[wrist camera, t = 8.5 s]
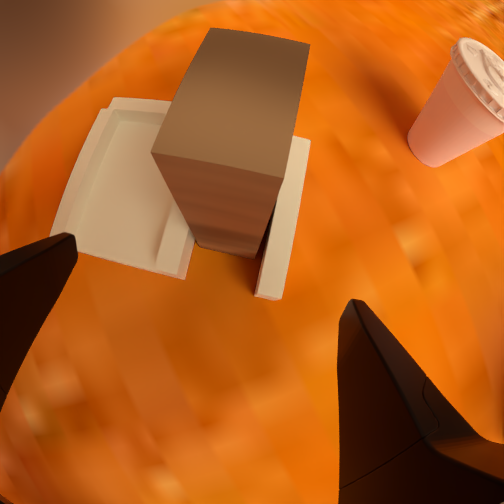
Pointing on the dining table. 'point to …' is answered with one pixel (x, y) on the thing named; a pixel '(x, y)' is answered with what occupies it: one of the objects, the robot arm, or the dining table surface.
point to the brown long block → (232, 136)
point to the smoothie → (461, 106)
